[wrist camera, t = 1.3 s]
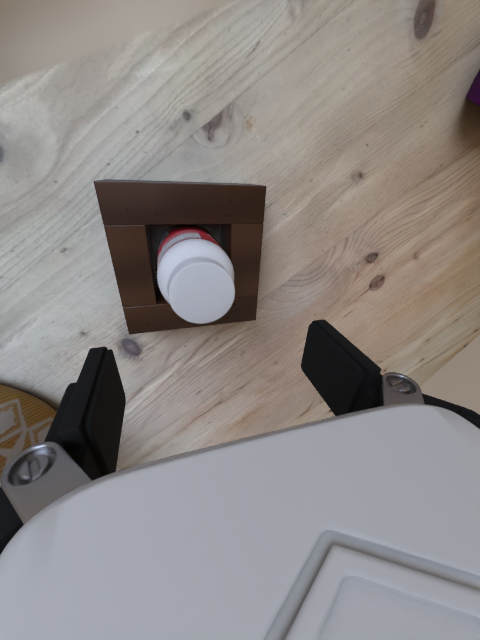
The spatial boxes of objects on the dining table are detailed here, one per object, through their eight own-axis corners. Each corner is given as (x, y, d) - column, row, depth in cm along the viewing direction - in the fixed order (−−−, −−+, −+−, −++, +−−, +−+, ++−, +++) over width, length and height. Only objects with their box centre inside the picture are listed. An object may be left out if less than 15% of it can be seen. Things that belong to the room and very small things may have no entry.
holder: (104, 179, 21) (93, 180, 18) (250, 183, 25) (266, 186, 21) (133, 313, 28) (129, 334, 24) (244, 302, 31) (255, 320, 28)
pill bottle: (221, 272, 28) (250, 320, 19) (168, 286, 28) (173, 342, 18) (209, 215, 25) (237, 240, 16) (148, 229, 24) (142, 264, 15)
